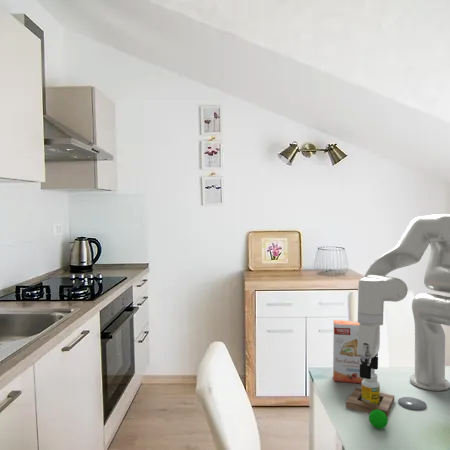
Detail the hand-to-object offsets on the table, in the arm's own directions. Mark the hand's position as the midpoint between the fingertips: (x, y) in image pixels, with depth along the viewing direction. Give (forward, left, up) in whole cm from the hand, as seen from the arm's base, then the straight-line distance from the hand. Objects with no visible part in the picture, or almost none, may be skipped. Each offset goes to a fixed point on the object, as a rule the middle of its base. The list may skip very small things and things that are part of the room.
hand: (368, 373), depth 129 cm
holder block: (-1, 0, -10) cm, 10 cm away
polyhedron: (+12, +5, -10) cm, 17 cm away
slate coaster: (-8, +11, -10) cm, 17 cm away
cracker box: (-17, -9, -10) cm, 22 cm away
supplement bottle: (-1, 0, -10) cm, 10 cm away
